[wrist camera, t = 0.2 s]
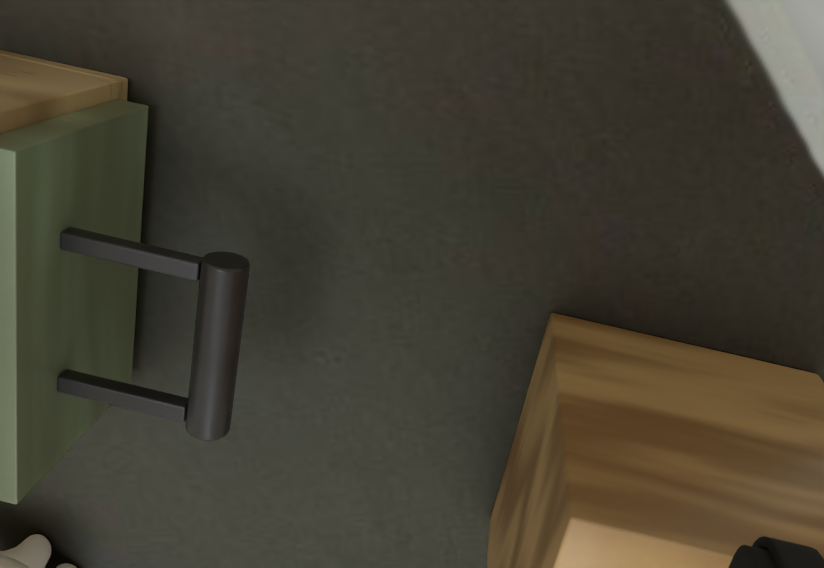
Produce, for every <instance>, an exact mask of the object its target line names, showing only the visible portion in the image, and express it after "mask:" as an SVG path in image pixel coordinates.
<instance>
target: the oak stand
mask: <svg viewBox="0 0 824 568" xmlns="http://www.w3.org/2000/svg"><path fill="white" fill-rule="evenodd" d="M763 536H766V537H770V538H775V539H779V540H783V541H788V542H792V543H796V544H801V545H805V546H809V547H812V548H814V549H816V550H818V552H819V553H820V554H821V556H822V557H823V559H824V382H823V381H822V379H821V378H820V377H819V375H818V374H815V373H811V372H807V371H802V370H798V369H794V368H789V367H785V366H781V365H776V364H772V363H768V362H763V361H759V360H755V359H751V358H746V357H742V356H738V355H733V354H729V353H725V352H720V351H716V350H712V349H707V348H703V347H699V346H694V345H690V344H686V343H681V342H677V341H673V340H669V339H664V338H660V337H656V336H651V335H647V334H643V333H638V332H634V331H630V330H625V329H621V328H617V327H612V326H608V325H604V324H599V323H595V322H591V321H586V320H582V319H578V318H574V317H569V316H565V315H561V314H556V313H551V314H550V317H549V320H548V324H547V327H546V331H545V334H544V337H543V341H542V344H541V348H540V351H539V354H538V358H537V361H536V365H535V368H534V372H533V375H532V378H531V382H530V385H529V389H528V392H527V396H526V399H525V402H524V406H523V409H522V413H521V416H520V419H519V423H518V426H517V430H516V433H515V437H514V440H513V443H512V447H511V450H510V454H509V457H508V460H507V464H506V467H505V471H504V474H503V478H502V481H501V484H500V488H499V491H498V495H497V498H496V502H495V505H494V508H493V512H492V515H491V519H490V522H489V541H488V559H487V568H729V565H730V563H731V561H732V559H733V556H734V554H735V552H736V551H737V549H738V548H739V547H740V546H741V545H748V546H752V545H753V543H754V542H755V541H756V540H757V539H758V538H759V537H763Z"/></svg>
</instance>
